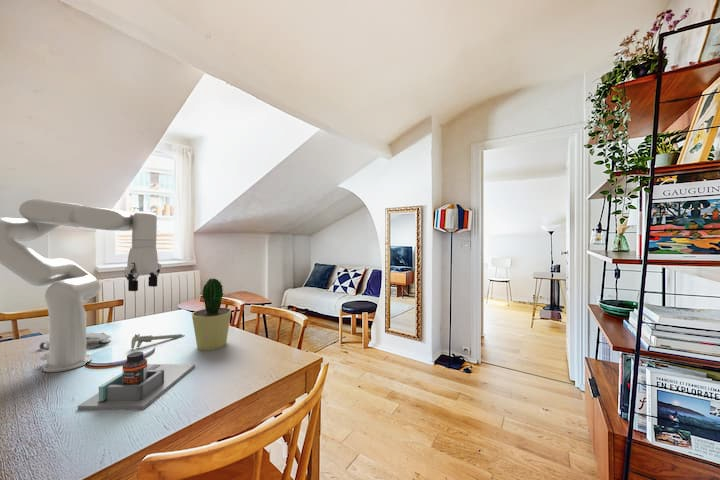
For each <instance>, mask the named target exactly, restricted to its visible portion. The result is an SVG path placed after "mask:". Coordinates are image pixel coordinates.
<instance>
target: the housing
mask: <svg viewBox="0 0 720 480" xmlns="http://www.w3.org/2000/svg"><path fill="white" fill-rule="evenodd" d="M195 367H196V364H194V363H193V364H192V363H191V364H190V363H189V364H188V363H147V380H145V381H144V382H142V383H141V384H139V385H110V386H108V387H107V399H105V400H104V401H99V392H98V393H96V394H94V395H93V396H91V397H90V398H88V399H87V400H85V401H83V402H82V403H80V404H78V405H77V410H145V409H147V408H148V407H149V406H150V405H151V404H152V403H153V402H154V401H156V400H158V399H159V398H160V397H161V396H162V395H163V394H165V392H166V391H168V390H169V389H170V388H172V387H173V386H175V384H176V383H177V382H179V381H180V380H181V379H183V378H184V377H185V376H186V375H187V374H188V373H190V372H191V371H192V370H194V369H195Z"/></svg>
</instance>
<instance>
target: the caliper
mask: <svg viewBox="0 0 720 480" xmlns="http://www.w3.org/2000/svg"><path fill="white" fill-rule="evenodd" d="M182 337H185V335H184V334H182V333H175V334H166V335H163V334H162V335H141V334H140V333H138V334H136V333H135V334H134V336H132V339H131V345H130V346H131V349H132V348H134V349H135V345H136V348H137V347H139V348H140V347H141V345H142V343H143V342H144V343H152V341H157V340H165V339H166V340H168V339H178V338H182ZM136 343H137V344H136Z"/></svg>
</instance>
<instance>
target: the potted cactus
mask: <svg viewBox="0 0 720 480" xmlns="http://www.w3.org/2000/svg"><path fill="white" fill-rule="evenodd" d="M204 283H205V284H204V285H203V287H202V290H201V292H200V294H199V296H200V297H201V299H203V300H201V302H202V303H203V305H204V308H202V309H199V310H195V311H193V312H192V313H191V317H192V324H193V330H194V336H195V343H196V347H197V349H198V350H200V351H213V350H217V349H220V348H222V347H225V346H226V345H227V341H228V334H229V329H230V328H229V327H230V321H231V315H232V308H229V307H221V306H222V305H223V302H222V300H223V297H225V296H226V293H225V292H224V286H223V284H222V281H220V280H219V279H217V278H214V277H213V278H208V279H207V280H205V281H204ZM223 292H224V293H223Z"/></svg>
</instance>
